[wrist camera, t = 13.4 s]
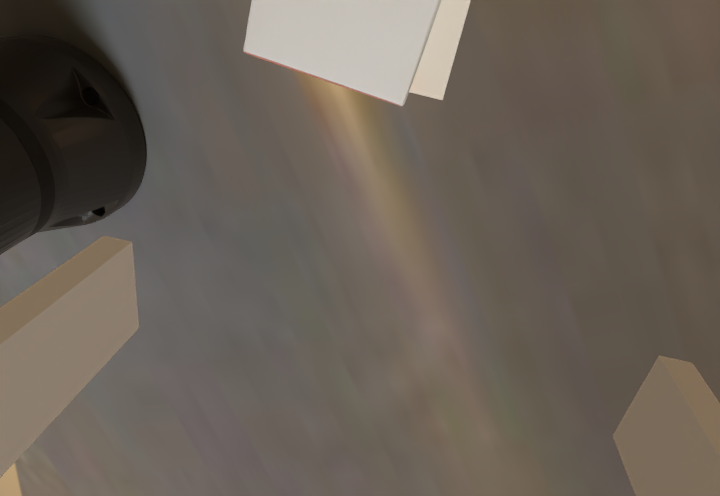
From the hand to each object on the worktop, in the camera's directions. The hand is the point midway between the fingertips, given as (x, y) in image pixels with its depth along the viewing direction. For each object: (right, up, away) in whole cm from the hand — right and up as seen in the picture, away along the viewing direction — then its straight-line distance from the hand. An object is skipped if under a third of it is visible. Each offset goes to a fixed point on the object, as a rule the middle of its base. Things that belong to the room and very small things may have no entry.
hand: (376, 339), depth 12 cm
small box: (+1, +19, +20) cm, 28 cm away
